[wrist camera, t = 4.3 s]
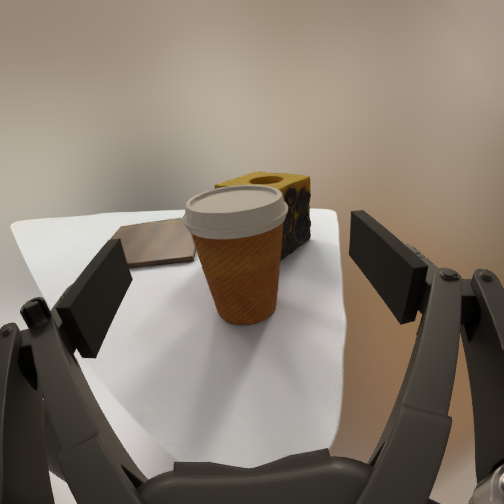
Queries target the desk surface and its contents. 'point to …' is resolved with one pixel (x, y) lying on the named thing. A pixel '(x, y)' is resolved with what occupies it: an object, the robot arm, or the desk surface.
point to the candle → (293, 195)
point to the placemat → (156, 243)
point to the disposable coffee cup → (239, 248)
